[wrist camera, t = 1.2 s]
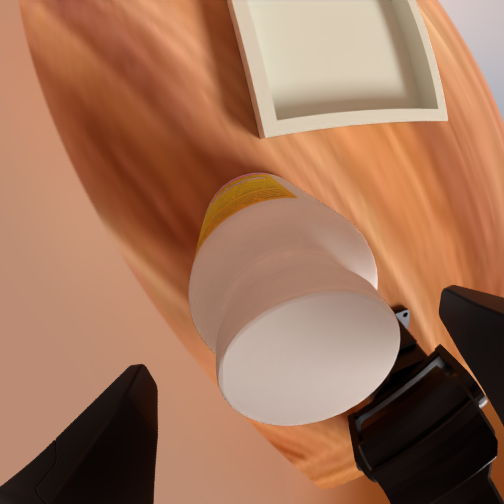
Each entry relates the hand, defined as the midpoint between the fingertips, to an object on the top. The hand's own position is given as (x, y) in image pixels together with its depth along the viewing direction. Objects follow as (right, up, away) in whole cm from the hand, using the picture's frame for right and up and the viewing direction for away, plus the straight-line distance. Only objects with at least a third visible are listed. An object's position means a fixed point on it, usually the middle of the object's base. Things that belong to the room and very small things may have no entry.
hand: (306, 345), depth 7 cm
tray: (+4, +16, +7) cm, 18 cm away
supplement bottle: (-1, +4, +11) cm, 12 cm away
